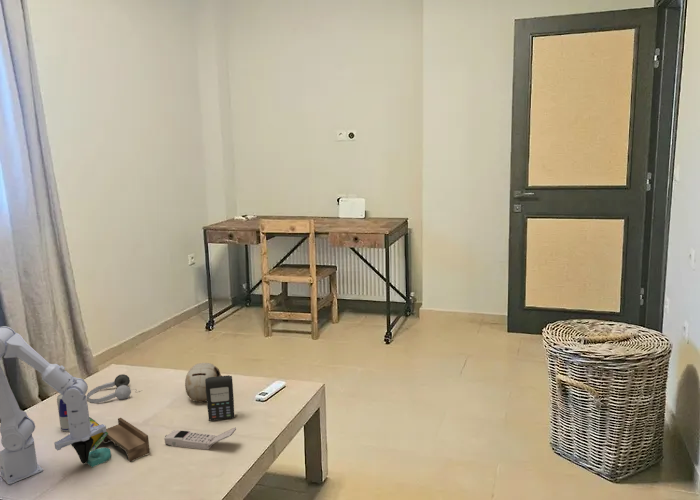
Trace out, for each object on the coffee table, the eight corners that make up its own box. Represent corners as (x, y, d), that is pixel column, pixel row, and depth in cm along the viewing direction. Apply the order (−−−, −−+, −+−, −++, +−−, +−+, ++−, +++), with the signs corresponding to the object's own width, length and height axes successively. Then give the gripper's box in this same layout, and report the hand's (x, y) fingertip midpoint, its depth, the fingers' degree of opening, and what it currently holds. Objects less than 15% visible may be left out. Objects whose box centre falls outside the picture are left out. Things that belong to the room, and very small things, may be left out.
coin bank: (214, 380, 236) (211, 350, 232) (233, 399, 223) (231, 368, 219) (176, 393, 227) (173, 362, 223) (194, 413, 214) (191, 381, 210)
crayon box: (88, 416, 195) (102, 428, 187) (95, 420, 197) (109, 433, 188) (72, 435, 192) (85, 448, 184) (78, 439, 194) (92, 453, 185)
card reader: (207, 422, 203) (204, 381, 200) (208, 417, 206) (204, 376, 203) (234, 419, 204) (232, 378, 201) (234, 414, 208) (231, 374, 205)
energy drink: (71, 432, 198) (67, 399, 196) (57, 431, 199) (52, 398, 197) (81, 425, 203) (77, 392, 201) (67, 423, 204) (63, 391, 202)
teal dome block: (92, 467, 177) (91, 461, 177) (83, 460, 181) (82, 454, 181) (114, 458, 182) (114, 452, 182) (105, 451, 186) (105, 445, 186)
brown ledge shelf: (130, 461, 179) (128, 443, 178) (103, 441, 192) (101, 424, 190) (149, 453, 184) (148, 435, 183) (122, 434, 196) (120, 417, 195)
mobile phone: (229, 436, 182) (156, 428, 188) (230, 454, 183) (157, 445, 189) (237, 427, 188) (166, 419, 193) (238, 444, 189) (167, 436, 194)
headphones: (142, 380, 237) (89, 397, 230) (138, 367, 236) (85, 383, 229) (144, 397, 221) (88, 416, 215) (140, 383, 220) (83, 402, 213)
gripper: (58, 434, 168) (64, 477, 170) (108, 415, 178) (113, 456, 181) (49, 426, 172) (55, 468, 175) (98, 408, 183) (103, 448, 185)
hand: (84, 461), depth 178 cm, fingers closed
